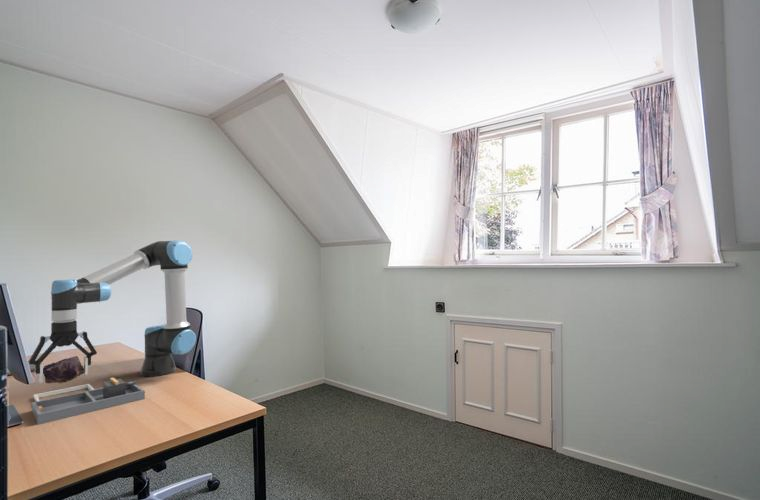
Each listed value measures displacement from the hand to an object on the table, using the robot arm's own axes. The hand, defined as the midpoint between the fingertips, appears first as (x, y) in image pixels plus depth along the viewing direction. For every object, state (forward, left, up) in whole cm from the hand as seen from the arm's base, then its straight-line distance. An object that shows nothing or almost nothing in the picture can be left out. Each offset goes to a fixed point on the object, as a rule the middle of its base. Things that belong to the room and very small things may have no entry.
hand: (64, 378), depth 151 cm
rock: (0, 0, -1) cm, 1 cm away
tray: (-3, -18, -12) cm, 22 cm away
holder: (-8, 0, -12) cm, 15 cm away
